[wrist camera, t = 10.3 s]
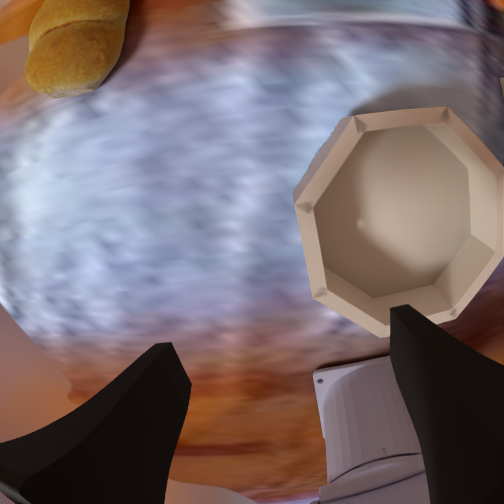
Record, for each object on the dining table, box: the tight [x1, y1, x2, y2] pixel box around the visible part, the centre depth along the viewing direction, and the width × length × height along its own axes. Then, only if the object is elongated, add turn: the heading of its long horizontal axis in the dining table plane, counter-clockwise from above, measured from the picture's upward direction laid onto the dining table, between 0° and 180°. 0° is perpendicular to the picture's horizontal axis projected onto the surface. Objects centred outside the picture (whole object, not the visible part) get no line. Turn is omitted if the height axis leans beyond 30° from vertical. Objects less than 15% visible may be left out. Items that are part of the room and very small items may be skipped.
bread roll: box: [25, 0, 130, 98], centre depth 14 cm, size 8×9×4 cm
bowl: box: [293, 106, 504, 338], centre depth 16 cm, size 12×12×4 cm
